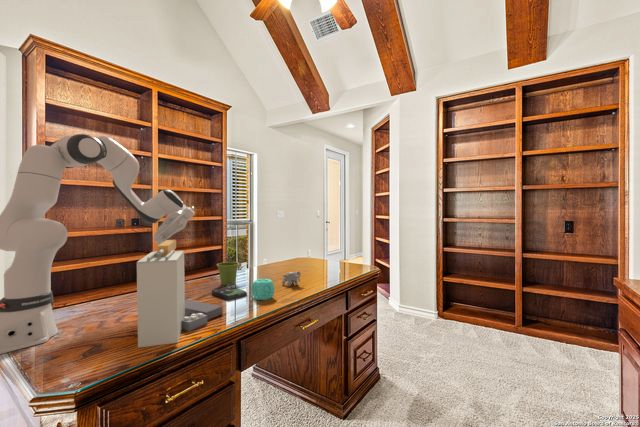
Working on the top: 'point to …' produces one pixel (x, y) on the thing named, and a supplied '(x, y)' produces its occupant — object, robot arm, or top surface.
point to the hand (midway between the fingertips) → (172, 231)
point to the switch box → (194, 321)
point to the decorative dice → (263, 289)
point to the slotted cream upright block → (160, 298)
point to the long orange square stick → (166, 247)
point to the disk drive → (229, 293)
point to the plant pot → (228, 272)
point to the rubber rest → (202, 309)
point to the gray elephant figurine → (291, 278)
